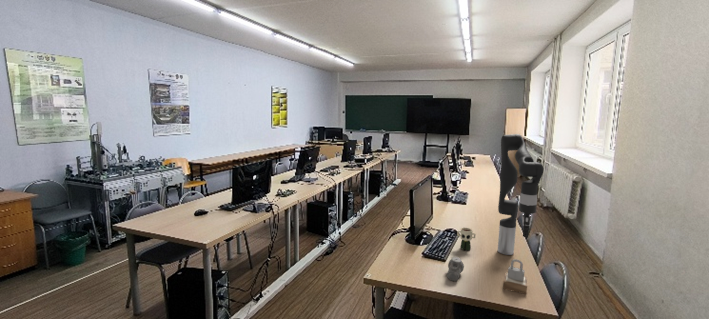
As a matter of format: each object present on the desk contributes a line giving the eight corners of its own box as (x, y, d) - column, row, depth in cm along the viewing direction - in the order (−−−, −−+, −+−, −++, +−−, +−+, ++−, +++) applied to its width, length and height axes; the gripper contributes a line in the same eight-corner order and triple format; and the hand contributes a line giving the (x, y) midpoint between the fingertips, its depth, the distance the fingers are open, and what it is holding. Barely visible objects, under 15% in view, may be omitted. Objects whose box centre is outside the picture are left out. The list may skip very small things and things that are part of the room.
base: (504, 279, 171) (505, 272, 170) (526, 284, 166) (526, 276, 166) (503, 288, 162) (504, 280, 161) (526, 294, 157) (527, 285, 157)
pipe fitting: (448, 268, 181) (450, 252, 178) (463, 273, 178) (465, 256, 175) (443, 281, 171) (445, 263, 168) (459, 286, 167) (461, 268, 164)
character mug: (455, 249, 208) (456, 229, 206) (457, 245, 214) (458, 226, 212) (474, 252, 203) (475, 232, 202) (474, 248, 210) (476, 229, 208)
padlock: (524, 278, 163) (525, 259, 162) (523, 282, 160) (524, 262, 159) (508, 274, 167) (509, 256, 166) (507, 278, 164) (508, 259, 162)
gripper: (519, 197, 169) (517, 227, 172) (519, 205, 157) (516, 237, 159) (536, 199, 166) (533, 230, 168) (537, 207, 153) (534, 240, 156)
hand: (525, 233), depth 164 cm, fingers open, 8 cm apart
